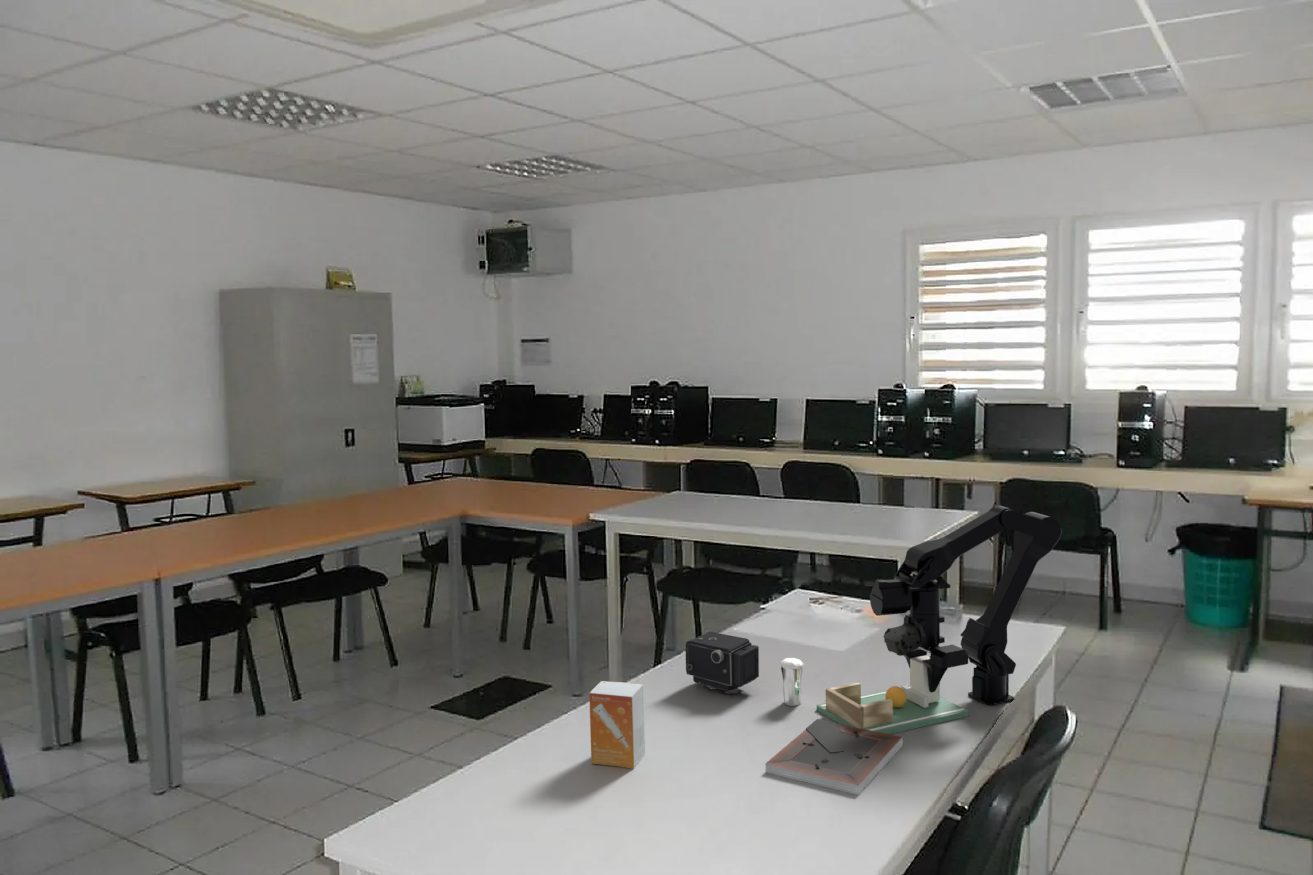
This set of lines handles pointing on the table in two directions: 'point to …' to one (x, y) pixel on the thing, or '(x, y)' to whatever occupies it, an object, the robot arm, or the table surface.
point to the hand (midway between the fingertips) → (924, 688)
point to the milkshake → (792, 680)
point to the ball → (896, 696)
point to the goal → (857, 706)
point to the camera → (722, 661)
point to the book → (835, 756)
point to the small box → (617, 724)
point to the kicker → (920, 684)
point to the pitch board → (906, 714)
